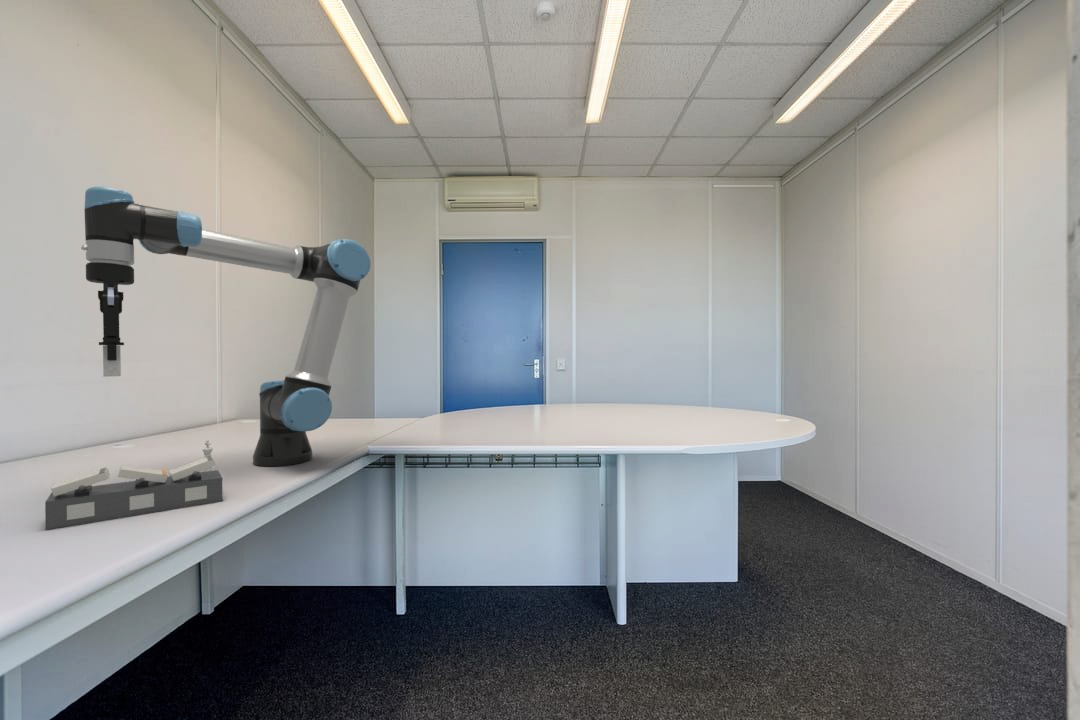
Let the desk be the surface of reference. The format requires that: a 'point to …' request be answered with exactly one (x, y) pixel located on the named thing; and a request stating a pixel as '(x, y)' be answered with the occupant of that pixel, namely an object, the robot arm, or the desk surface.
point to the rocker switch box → (131, 499)
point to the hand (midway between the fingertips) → (112, 376)
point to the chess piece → (207, 453)
